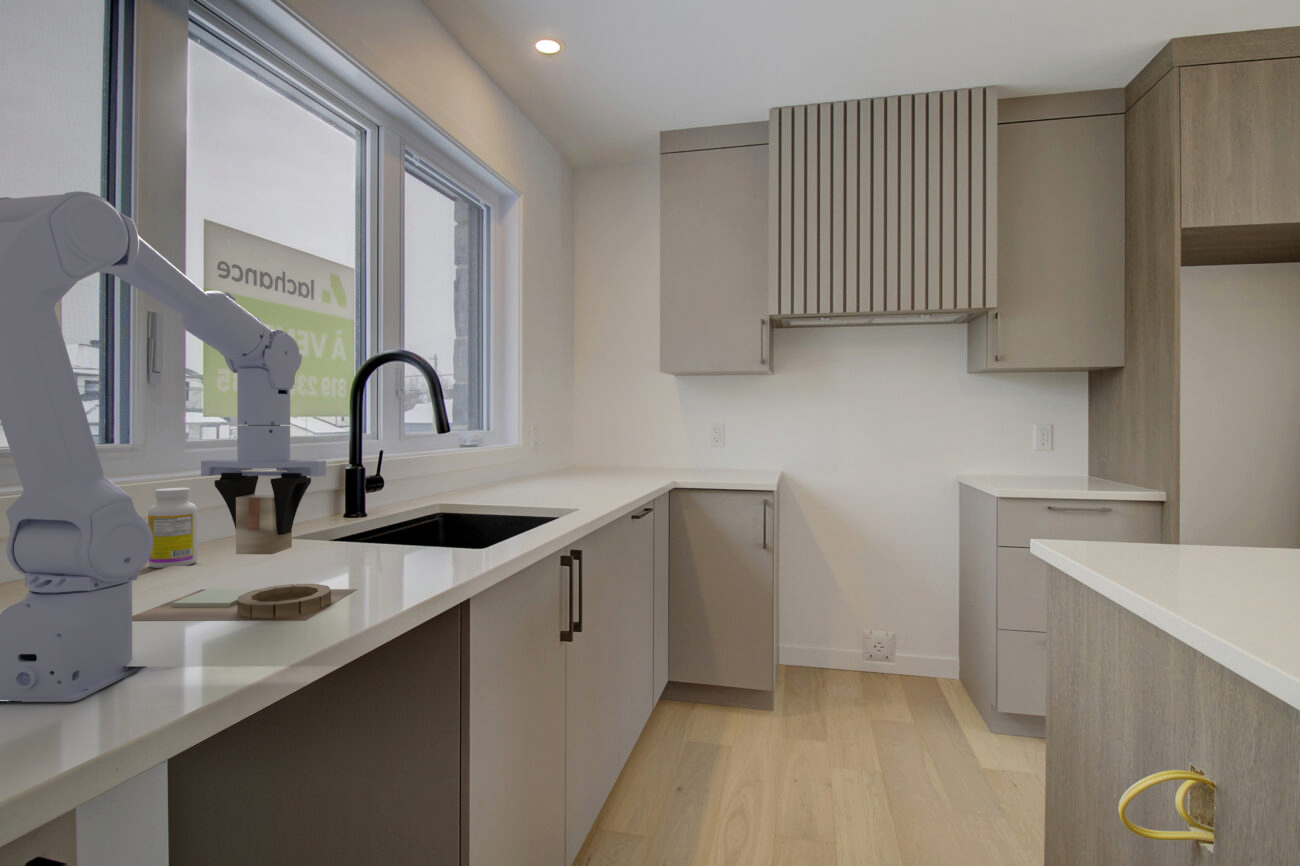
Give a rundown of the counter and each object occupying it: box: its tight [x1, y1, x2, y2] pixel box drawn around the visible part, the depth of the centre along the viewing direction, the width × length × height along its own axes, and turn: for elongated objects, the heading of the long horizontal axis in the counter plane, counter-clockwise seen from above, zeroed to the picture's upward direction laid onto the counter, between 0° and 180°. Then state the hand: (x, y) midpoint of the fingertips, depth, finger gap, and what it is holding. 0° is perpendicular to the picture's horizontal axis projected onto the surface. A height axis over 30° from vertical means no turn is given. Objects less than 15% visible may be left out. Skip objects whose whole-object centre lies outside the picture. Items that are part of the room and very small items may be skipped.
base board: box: [132, 583, 358, 622], centre depth 81 cm, size 14×21×3 cm, turn 92°
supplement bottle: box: [147, 487, 198, 569], centre depth 108 cm, size 7×7×13 cm
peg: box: [235, 493, 293, 555], centre depth 81 cm, size 4×4×7 cm
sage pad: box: [172, 587, 262, 607], centre depth 83 cm, size 7×7×1 cm
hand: (264, 533), depth 81 cm, fingers closed on peg, 4 cm apart
